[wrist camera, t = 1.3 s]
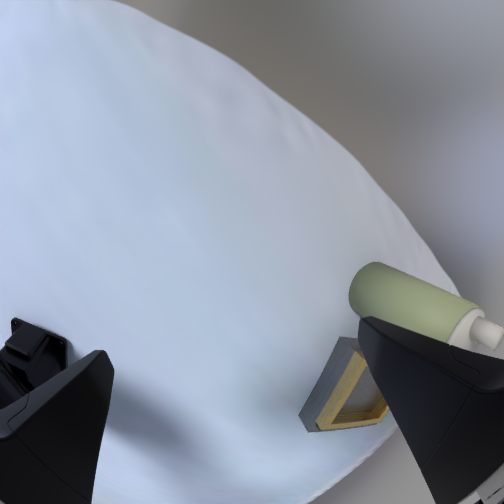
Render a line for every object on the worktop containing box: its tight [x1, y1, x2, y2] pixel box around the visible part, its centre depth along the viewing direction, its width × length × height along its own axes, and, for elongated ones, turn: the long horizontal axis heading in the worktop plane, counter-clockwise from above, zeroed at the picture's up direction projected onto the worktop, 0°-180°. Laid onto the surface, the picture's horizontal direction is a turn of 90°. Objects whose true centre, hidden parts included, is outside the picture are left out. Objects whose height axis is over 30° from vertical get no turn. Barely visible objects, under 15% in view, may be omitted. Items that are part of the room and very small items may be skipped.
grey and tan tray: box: [299, 337, 389, 432], centre depth 26 cm, size 11×11×4 cm
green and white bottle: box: [349, 262, 504, 352], centre depth 18 cm, size 6×6×15 cm
